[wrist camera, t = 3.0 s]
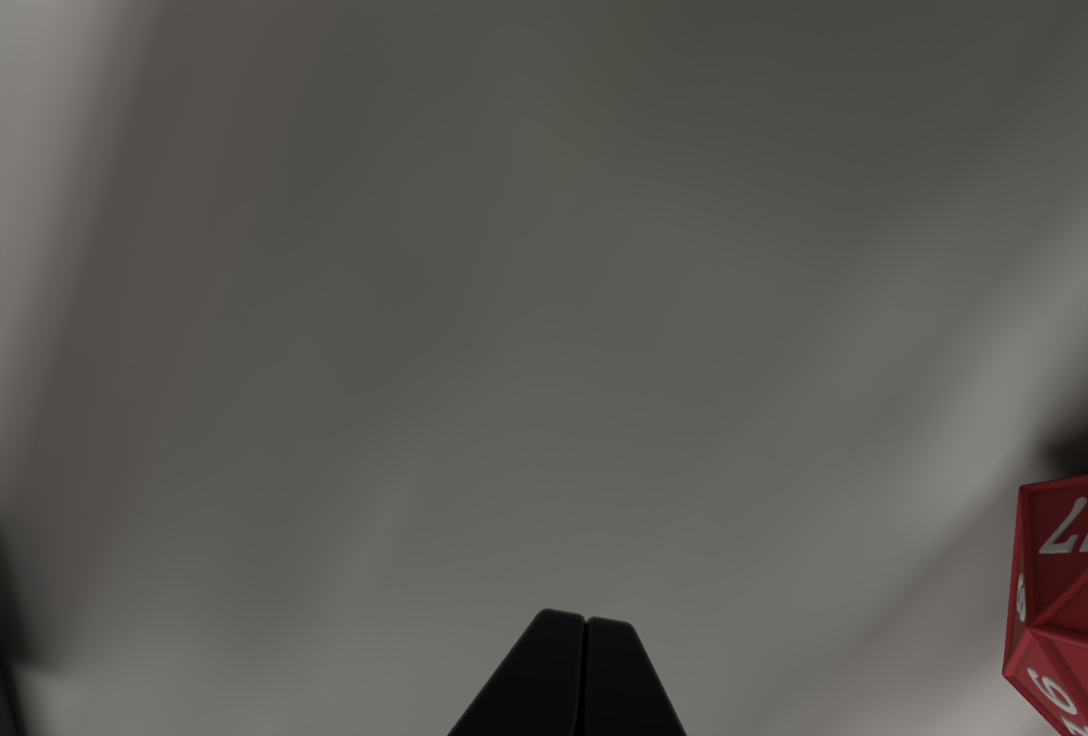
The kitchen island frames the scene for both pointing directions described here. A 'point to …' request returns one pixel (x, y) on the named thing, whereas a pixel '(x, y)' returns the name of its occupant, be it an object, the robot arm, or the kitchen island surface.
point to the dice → (1051, 603)
